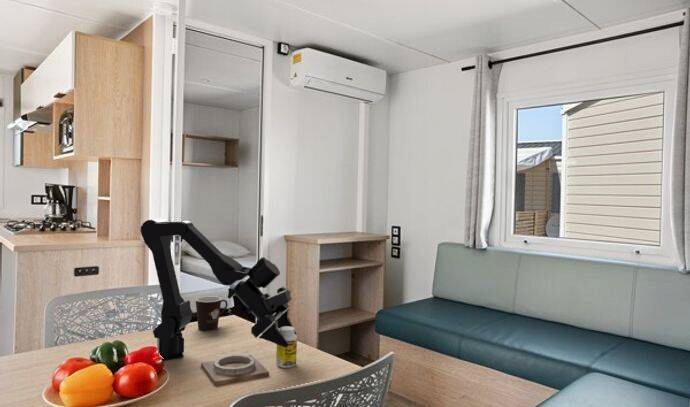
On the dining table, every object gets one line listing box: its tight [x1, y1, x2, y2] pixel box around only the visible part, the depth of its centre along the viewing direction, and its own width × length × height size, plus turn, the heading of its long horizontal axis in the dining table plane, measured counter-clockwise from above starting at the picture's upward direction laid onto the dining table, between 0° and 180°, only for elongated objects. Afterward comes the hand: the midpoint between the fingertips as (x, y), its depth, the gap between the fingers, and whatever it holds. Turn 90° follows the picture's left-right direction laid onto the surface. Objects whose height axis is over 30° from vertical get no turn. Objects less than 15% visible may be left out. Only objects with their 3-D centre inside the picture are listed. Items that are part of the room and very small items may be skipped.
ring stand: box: [200, 354, 270, 386], centre depth 123 cm, size 14×14×2 cm
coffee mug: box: [195, 296, 228, 332], centre depth 161 cm, size 12×9×10 cm
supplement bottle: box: [275, 326, 298, 369], centre depth 129 cm, size 6×6×10 cm
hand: (291, 341), depth 128 cm, fingers open, 9 cm apart
